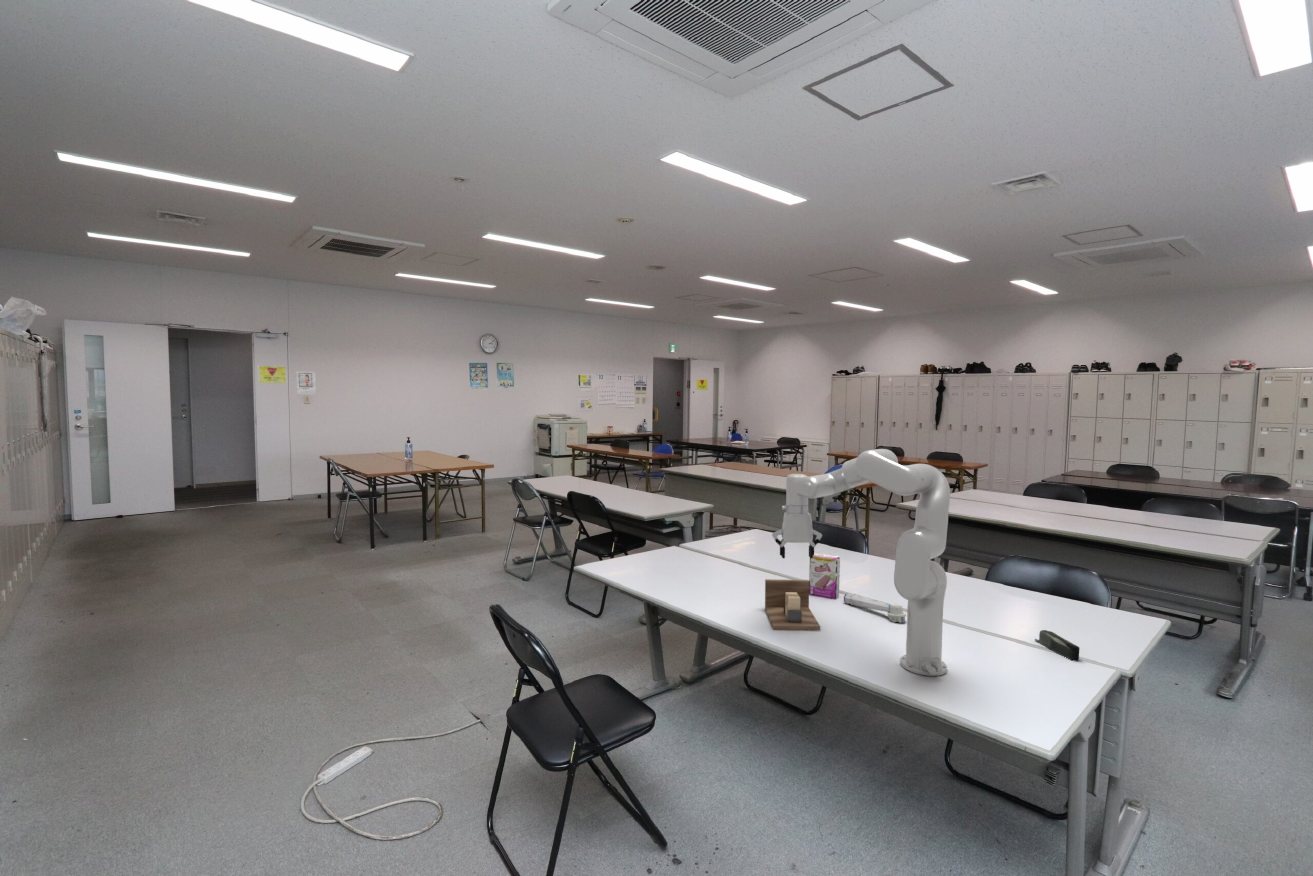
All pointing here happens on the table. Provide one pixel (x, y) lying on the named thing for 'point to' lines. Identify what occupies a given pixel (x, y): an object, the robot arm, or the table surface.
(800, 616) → the wooden bookend
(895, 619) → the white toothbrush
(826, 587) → the candy bar box
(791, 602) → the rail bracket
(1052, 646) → the dark green stapler
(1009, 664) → the table surface
